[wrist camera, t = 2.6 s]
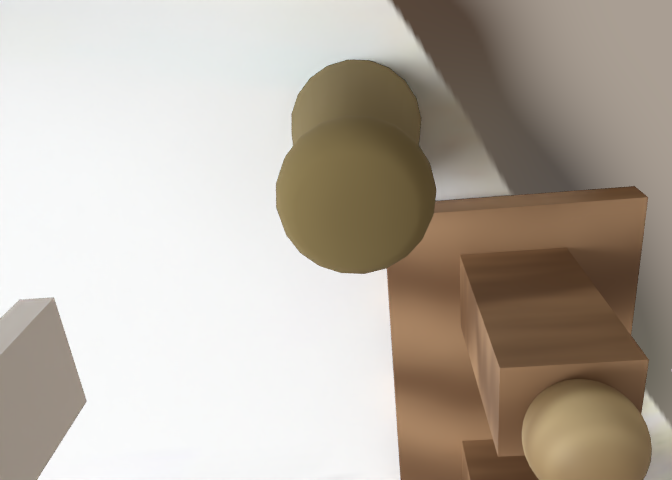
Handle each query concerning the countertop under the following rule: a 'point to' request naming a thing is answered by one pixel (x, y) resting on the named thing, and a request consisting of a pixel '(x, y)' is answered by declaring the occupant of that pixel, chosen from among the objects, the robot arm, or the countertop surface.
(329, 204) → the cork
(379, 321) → the countertop surface
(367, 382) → the countertop surface
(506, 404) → the wooden peg board
